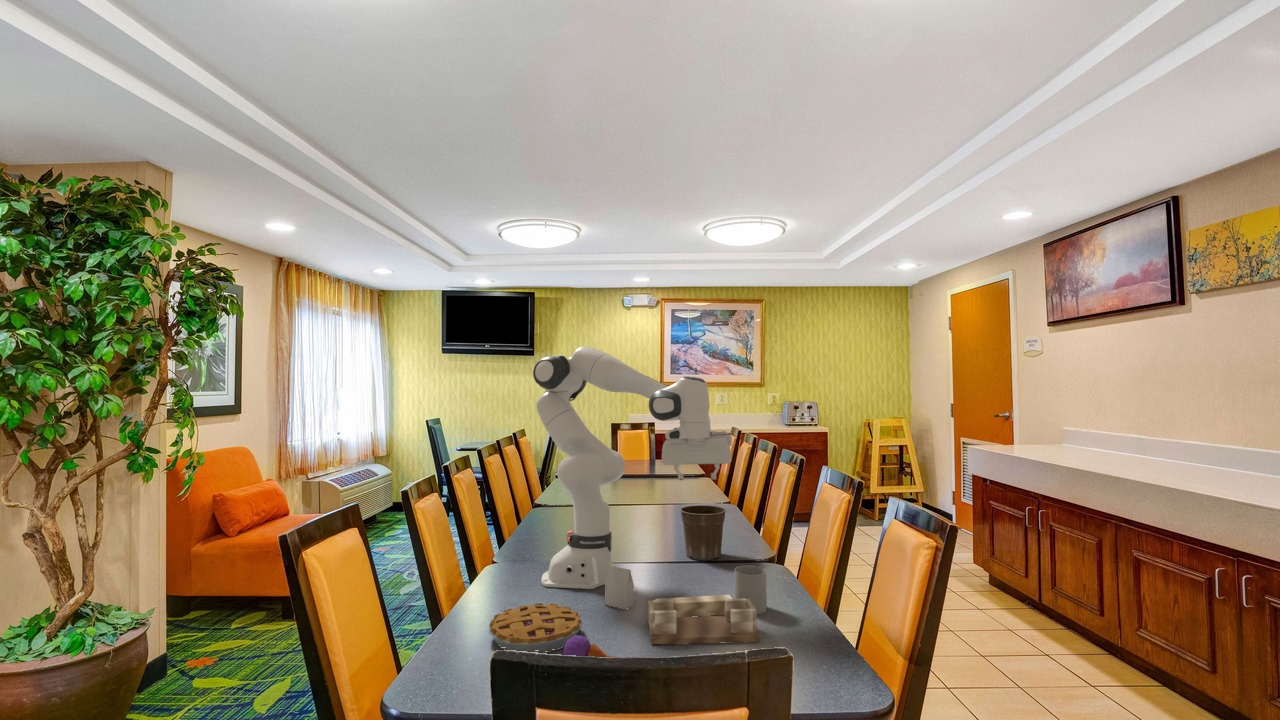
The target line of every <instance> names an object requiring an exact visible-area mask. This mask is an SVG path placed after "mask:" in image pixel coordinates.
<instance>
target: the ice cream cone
mask: <svg viewBox="0 0 1280 720" xmlns="http://www.w3.org/2000/svg"><path fill="white" fill-rule="evenodd" d="M564 655H576V656H595V657H617V656H616V655H615V656H614V655H608V654H607V653H606V652H605V651H603V650H602V649H601V648H600V647H599V646H598V645H597V644H596V643H592V644H591V642H590V639H588V638H587V637H586V636H583V635H581V634H576V636H572V637H571V638H570V639H569V640H568V641H567V642H566V644H565V647H564V648H563V656H564Z"/></svg>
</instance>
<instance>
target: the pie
mask: <svg viewBox="0 0 1280 720" xmlns="http://www.w3.org/2000/svg"><path fill="white" fill-rule="evenodd" d="M578 612H579V611H577V610H572V609H571V607H570V606H559V605H558V603H550V604H544V603H542V602H541V603H537V602H536V603H535V604H533V605H519V606H518V607H516V608H513V609H512V608H508V609H505V610H504V611H503V612H502V613H498V614H495V615H494V616H493V619H491V620H490V622H489V625H488V633H489V634H490V636H492V637H493V640H494V643H495V644H496V643H497V644H498V645H500V647H506V648H500V647H499V648H500V649H501V650H502V649H505V650H516V651H527V652H538V653H541V654H546V653H548V652H545V651H551V652H554V651H553V650H552V649H558V648H561V647H565V644H566V642H567V641H568V640H569V639H570V638H571V637H572V636H576V635H578V633H579V631H580V630H581V628H582V626H583V621H582V619H581V615H579V613H578ZM497 644H496V645H497ZM498 645H497V646H498ZM535 650H539V651H535ZM558 650H559V649H558Z"/></svg>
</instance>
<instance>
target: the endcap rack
mask: <svg viewBox="0 0 1280 720" xmlns="http://www.w3.org/2000/svg"><path fill="white" fill-rule="evenodd" d="M648 626H649V627H648ZM647 627H648V633H649V638H650V645H651V644H676V645H685V644H684V643H720V642H743V643H742V644H750V643H749V642H756V643H757V644H760V635H759V633H758V614H757V610H756V609H755V607H754V605H753V604H752V602H751V601H750V599H735V598H732V599H725V615H717V616H701V617H676V610H673V600H655V599H653V600H648V618H647ZM747 642H748V643H747ZM756 643H755V644H756ZM720 644H721V643H720Z"/></svg>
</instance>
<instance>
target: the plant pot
mask: <svg viewBox="0 0 1280 720" xmlns="http://www.w3.org/2000/svg"><path fill="white" fill-rule="evenodd" d="M679 511H680V515H681V522H682V523H683V533H684V534H683V535H684V545H685V554H686V557H687V558H690V559H692V558H693V559H694V560H696V561H697V560H698V561H712V560H716V559H720V558H721V556H722V545H723V543H722V542H723V530H724V523H725V518H726V517H725V515H726V513H727V509H726V508H725V507H723V506H722V507H721V506H717V505H707V504H704V505H703V504H700V505H699V504H697V505H686V506H683V507H681V508H679Z"/></svg>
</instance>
